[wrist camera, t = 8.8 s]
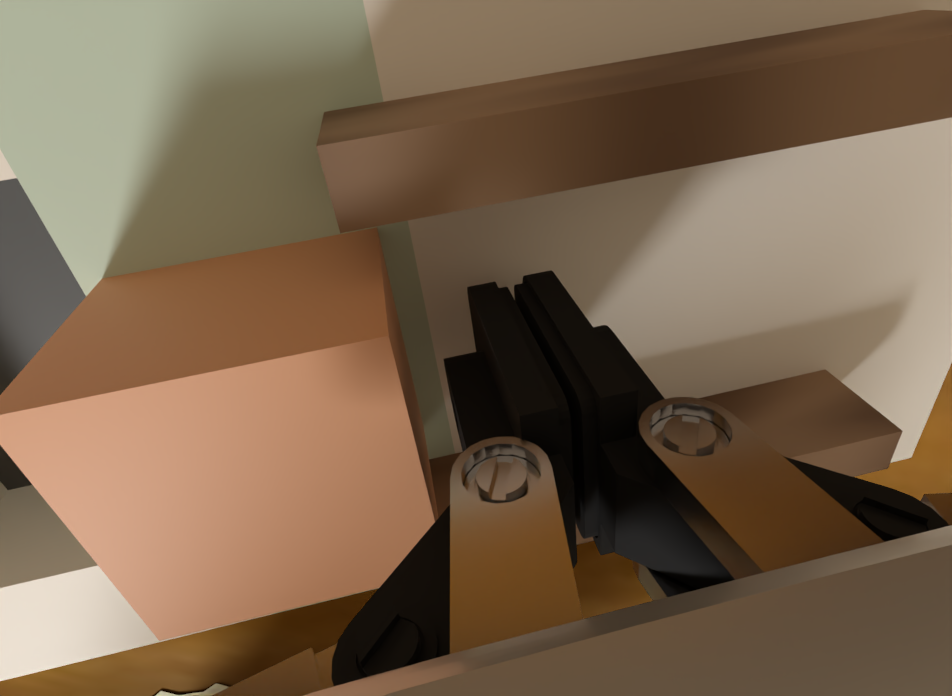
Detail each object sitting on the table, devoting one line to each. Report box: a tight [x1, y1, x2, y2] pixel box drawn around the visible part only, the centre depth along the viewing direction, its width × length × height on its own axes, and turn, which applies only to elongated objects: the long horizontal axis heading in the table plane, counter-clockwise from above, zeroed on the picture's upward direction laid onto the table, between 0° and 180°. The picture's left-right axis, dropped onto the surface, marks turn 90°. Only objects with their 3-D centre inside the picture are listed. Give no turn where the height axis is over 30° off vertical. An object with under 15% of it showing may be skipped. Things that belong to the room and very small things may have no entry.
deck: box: [0, 0, 952, 681], centre depth 14 cm, size 28×16×4 cm, turn 97°
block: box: [0, 227, 439, 641], centre depth 10 cm, size 5×5×4 cm
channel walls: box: [316, 10, 952, 545], centre depth 11 cm, size 11×9×2 cm
